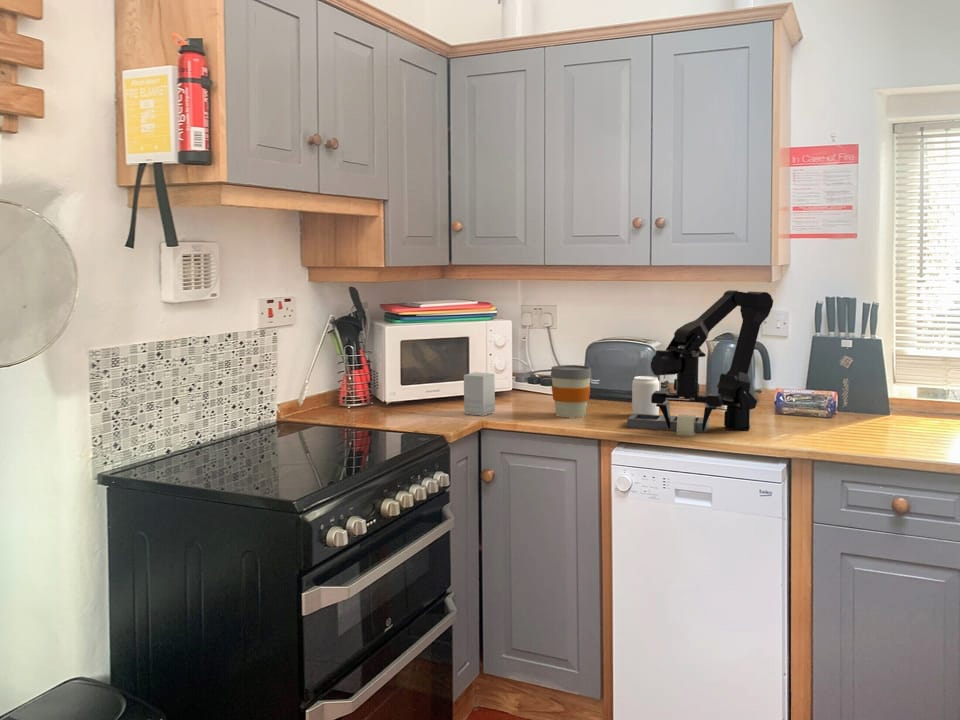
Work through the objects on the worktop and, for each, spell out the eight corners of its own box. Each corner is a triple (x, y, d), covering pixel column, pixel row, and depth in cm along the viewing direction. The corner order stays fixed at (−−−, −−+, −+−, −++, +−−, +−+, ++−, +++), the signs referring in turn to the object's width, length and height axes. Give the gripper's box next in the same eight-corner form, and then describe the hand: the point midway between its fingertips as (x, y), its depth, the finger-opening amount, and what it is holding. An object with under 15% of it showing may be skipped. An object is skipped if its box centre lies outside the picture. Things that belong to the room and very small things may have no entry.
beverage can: (658, 419, 255) (659, 379, 253) (631, 418, 256) (632, 379, 255) (658, 414, 262) (659, 376, 261) (632, 413, 264) (632, 375, 263)
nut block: (695, 433, 234) (695, 415, 234) (693, 436, 230) (693, 418, 230) (678, 432, 236) (679, 414, 235) (676, 435, 232) (677, 417, 231)
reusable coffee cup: (570, 420, 253) (571, 371, 251) (542, 415, 262) (542, 367, 261) (599, 415, 260) (600, 367, 259) (570, 410, 270) (571, 363, 268)
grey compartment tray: (709, 426, 243) (709, 417, 243) (705, 432, 235) (706, 423, 234) (632, 421, 251) (632, 413, 250) (627, 427, 242) (627, 418, 242)
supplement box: (495, 412, 267) (495, 373, 265) (483, 416, 261) (482, 376, 259) (476, 410, 271) (475, 371, 269) (463, 414, 264) (462, 374, 263)
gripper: (725, 371, 235) (723, 426, 237) (657, 368, 242) (656, 422, 244) (721, 376, 225) (720, 433, 227) (651, 373, 232) (650, 429, 233)
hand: (686, 429), depth 233 cm, fingers open, 9 cm apart
